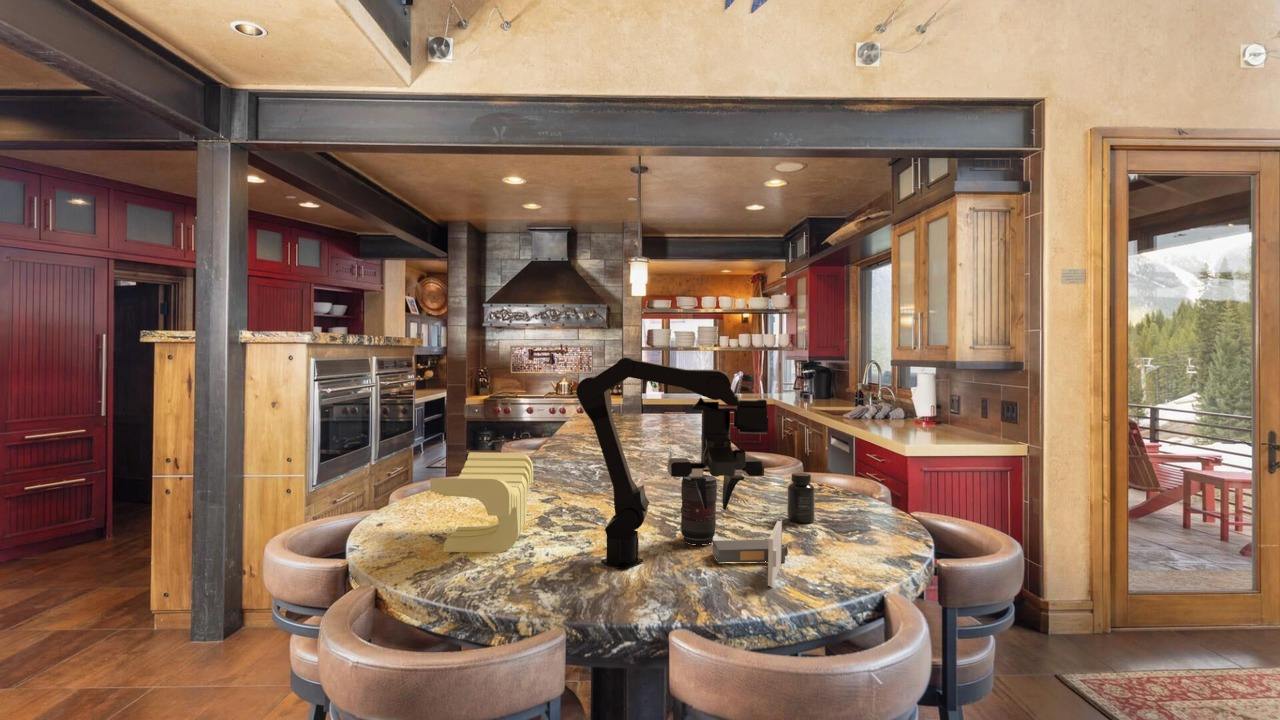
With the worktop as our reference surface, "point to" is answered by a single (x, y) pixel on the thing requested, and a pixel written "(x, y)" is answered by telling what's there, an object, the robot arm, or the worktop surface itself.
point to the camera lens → (698, 512)
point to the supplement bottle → (801, 499)
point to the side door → (774, 552)
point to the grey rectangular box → (744, 550)
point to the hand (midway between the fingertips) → (714, 509)
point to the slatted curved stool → (490, 499)
